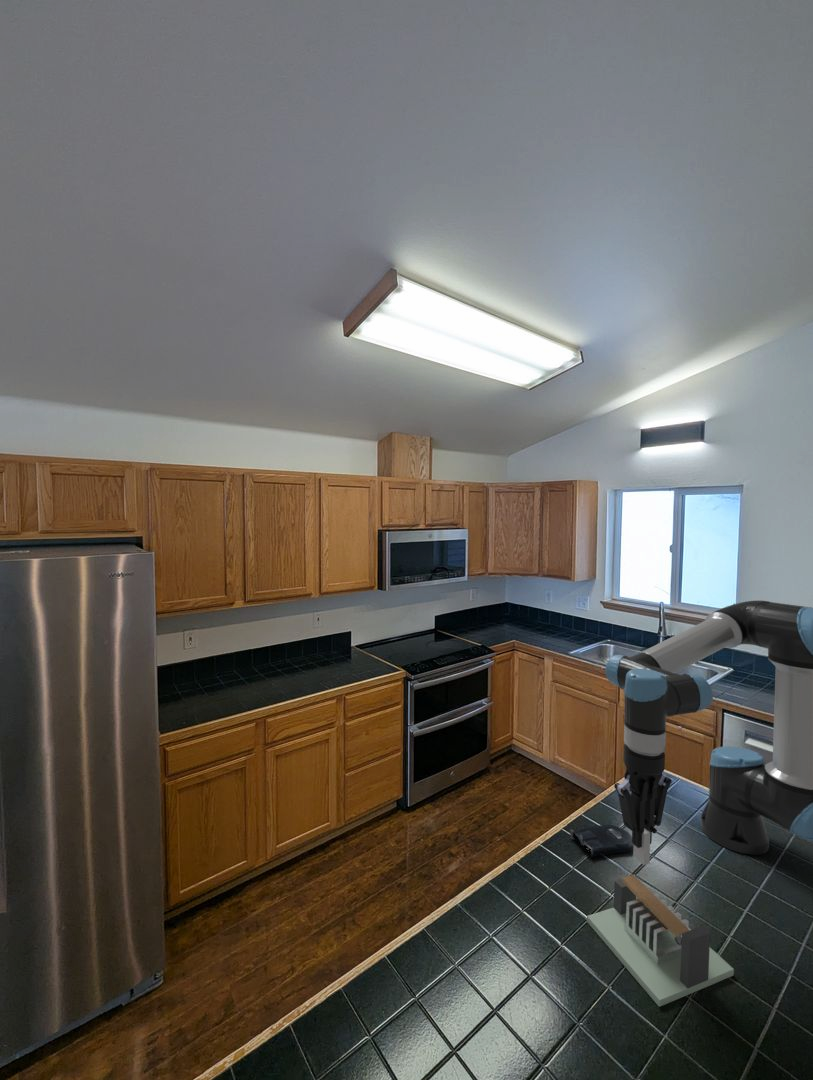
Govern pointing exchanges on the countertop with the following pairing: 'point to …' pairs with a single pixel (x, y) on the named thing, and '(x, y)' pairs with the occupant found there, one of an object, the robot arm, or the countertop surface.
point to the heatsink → (652, 931)
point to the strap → (656, 907)
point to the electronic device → (603, 839)
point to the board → (667, 978)
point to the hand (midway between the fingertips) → (641, 859)
